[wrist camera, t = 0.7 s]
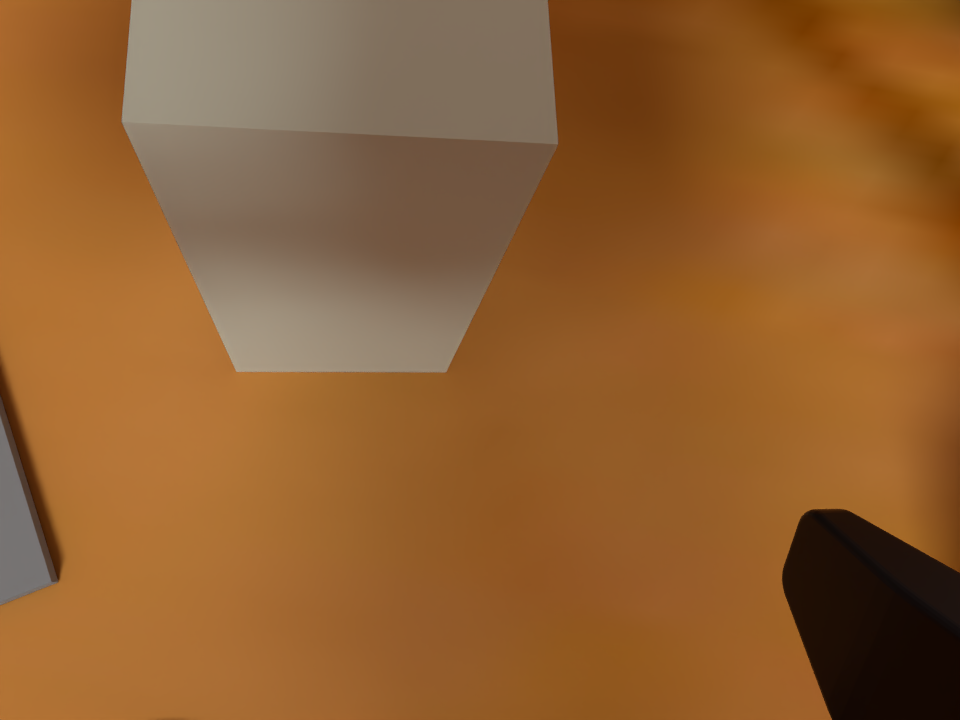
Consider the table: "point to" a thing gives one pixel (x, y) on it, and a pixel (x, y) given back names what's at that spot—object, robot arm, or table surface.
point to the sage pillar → (341, 165)
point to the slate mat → (19, 527)
